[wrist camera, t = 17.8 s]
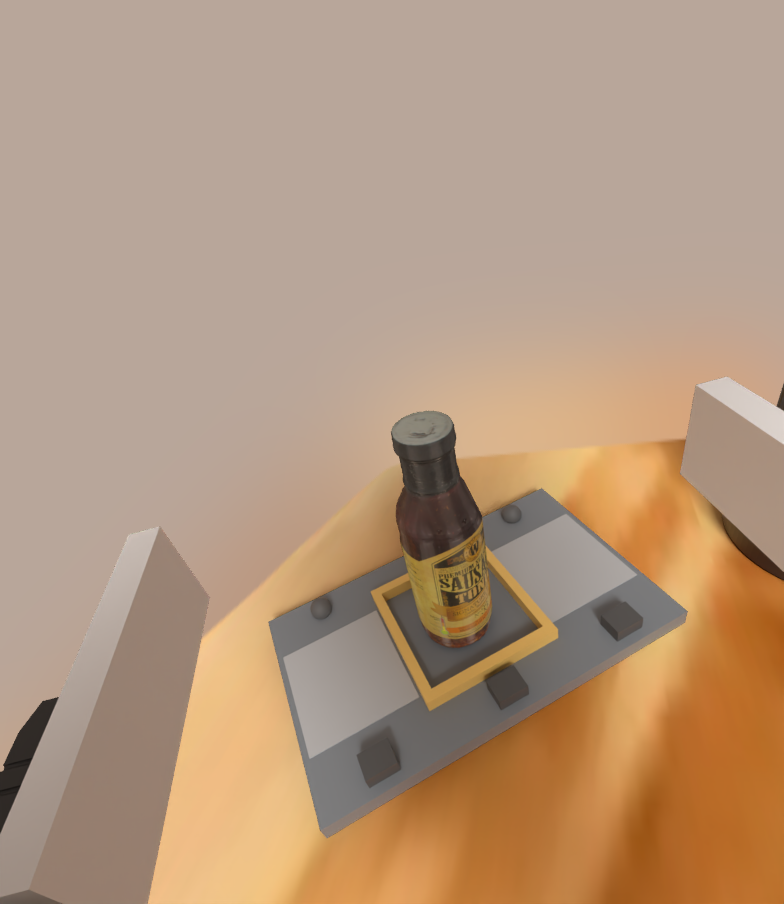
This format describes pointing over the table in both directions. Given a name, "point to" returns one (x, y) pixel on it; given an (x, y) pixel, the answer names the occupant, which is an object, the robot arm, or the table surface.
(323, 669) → the grey fixture plate
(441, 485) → the sauce bottle
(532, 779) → the table surface
